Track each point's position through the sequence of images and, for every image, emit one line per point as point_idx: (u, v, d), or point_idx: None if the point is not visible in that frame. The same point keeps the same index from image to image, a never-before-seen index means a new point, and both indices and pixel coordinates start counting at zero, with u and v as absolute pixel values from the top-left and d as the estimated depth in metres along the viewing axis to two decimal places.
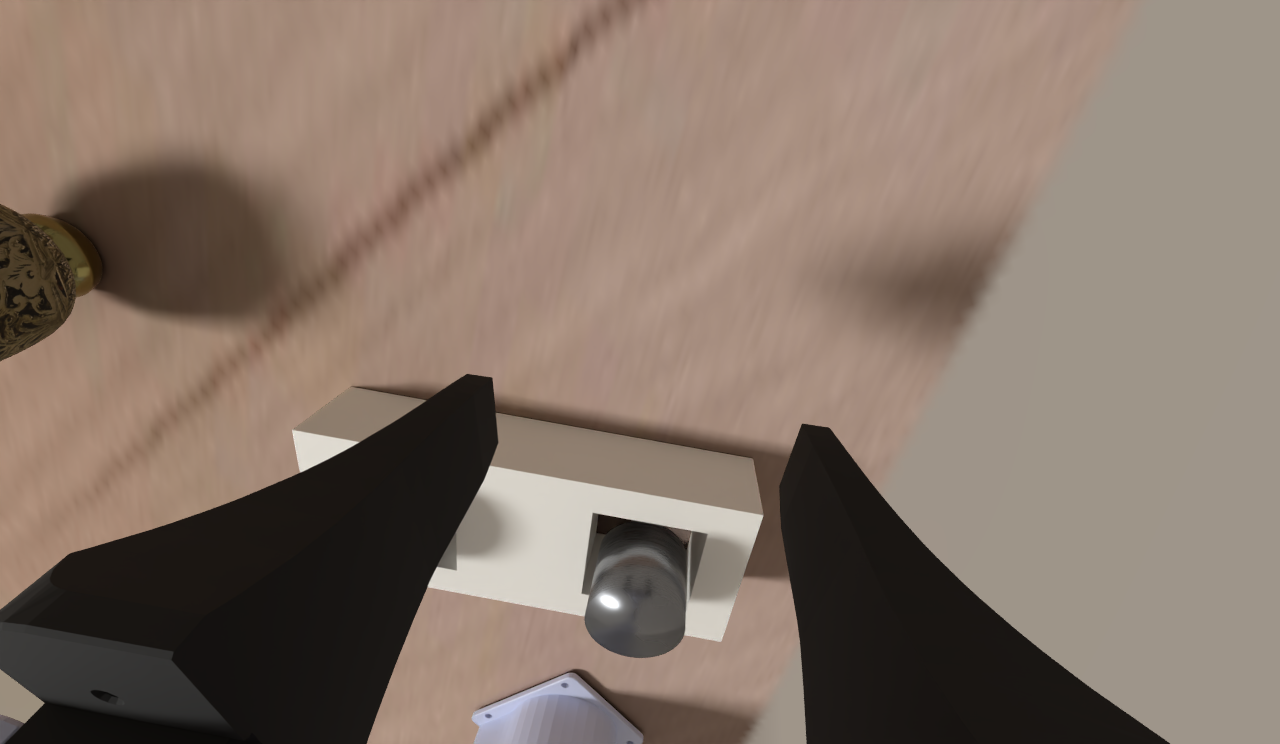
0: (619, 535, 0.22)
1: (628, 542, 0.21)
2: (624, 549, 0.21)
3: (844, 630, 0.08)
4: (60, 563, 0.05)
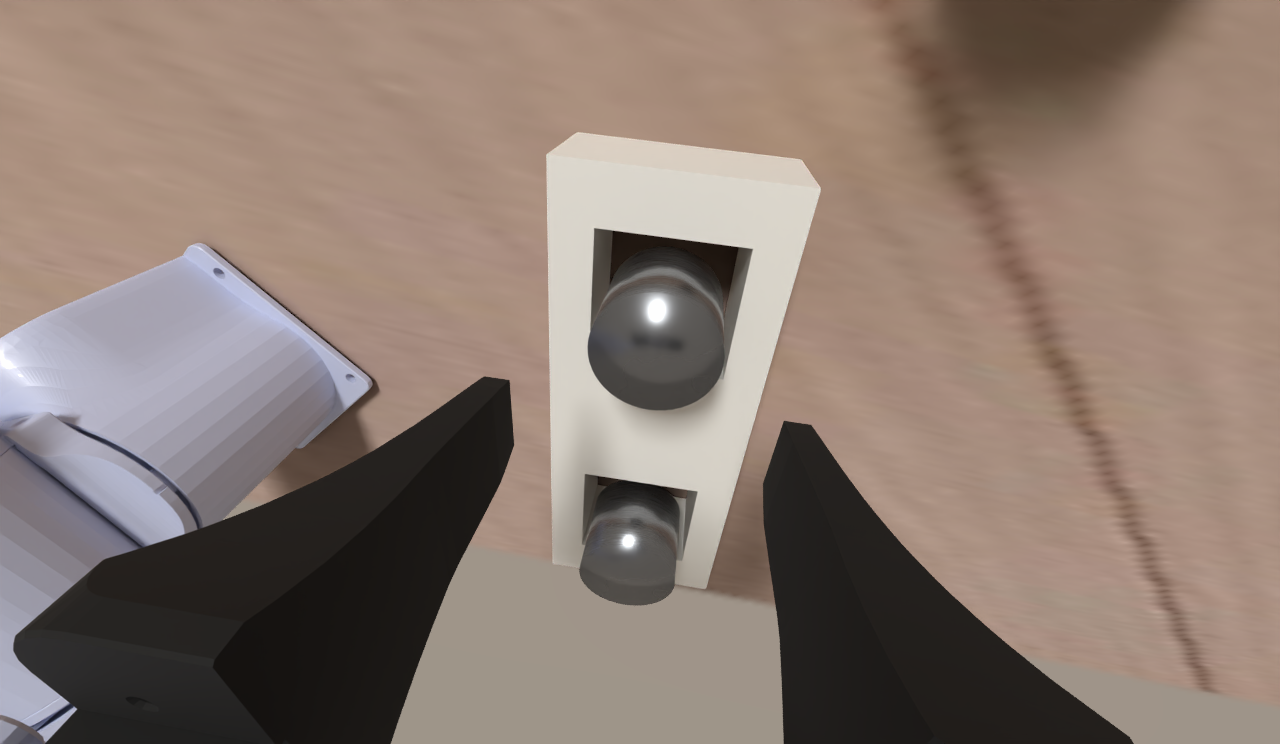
0: (673, 509, 0.22)
1: (676, 527, 0.22)
2: (675, 531, 0.22)
3: (818, 625, 0.08)
4: (94, 569, 0.05)
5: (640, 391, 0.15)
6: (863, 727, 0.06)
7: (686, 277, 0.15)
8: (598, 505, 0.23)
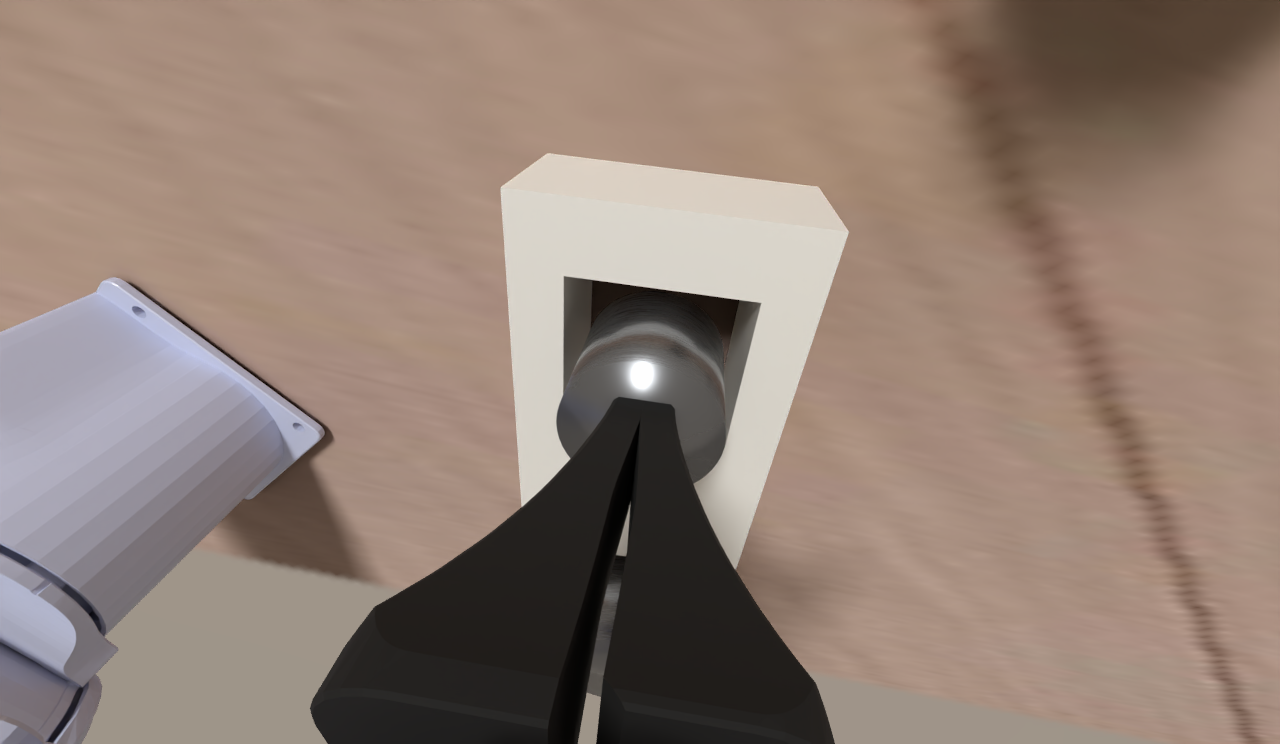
0: None
1: None
2: None
3: None
4: (378, 619, 0.05)
5: None
6: None
7: (678, 336, 0.12)
8: None
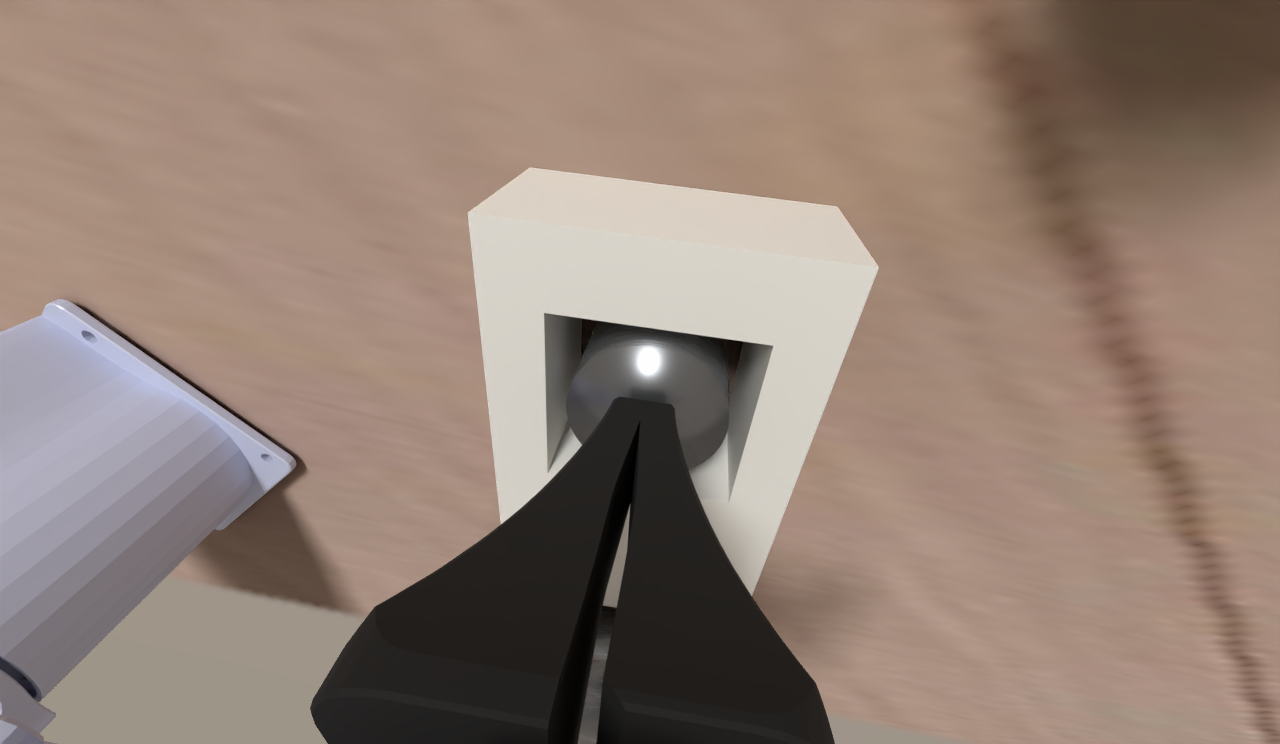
0: None
1: None
2: None
3: None
4: (379, 619, 0.05)
5: None
6: None
7: None
8: None
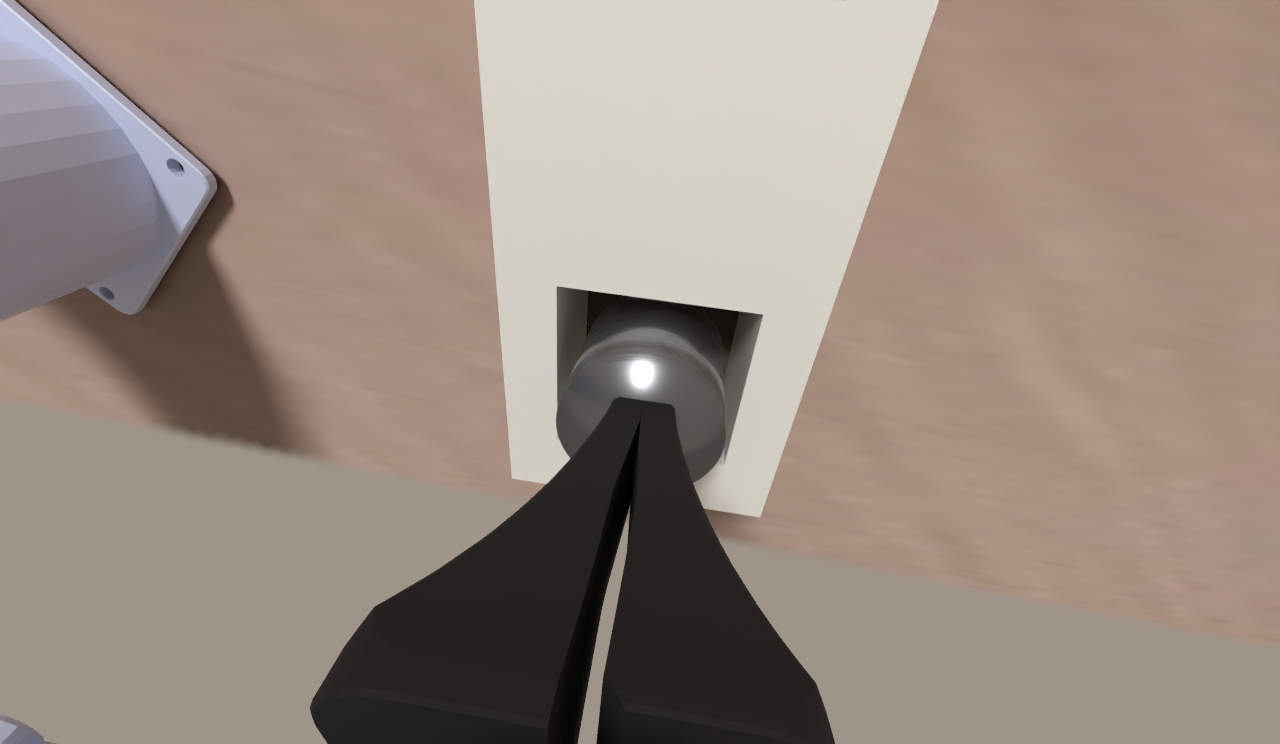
0: (716, 337, 0.13)
1: (722, 363, 0.13)
2: (721, 366, 0.13)
3: None
4: (378, 619, 0.05)
5: None
6: None
7: None
8: (590, 332, 0.14)
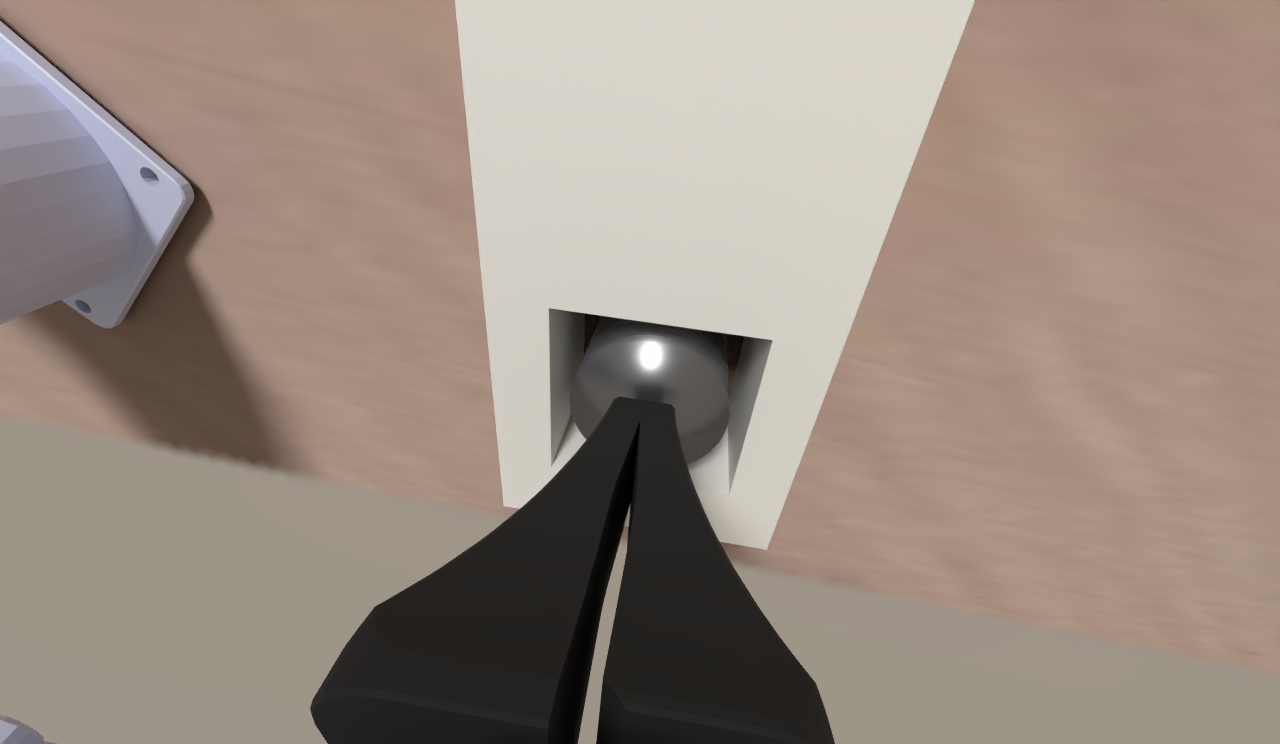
0: None
1: (726, 347, 0.14)
2: (725, 350, 0.14)
3: None
4: (378, 619, 0.05)
5: None
6: None
7: None
8: (601, 317, 0.14)
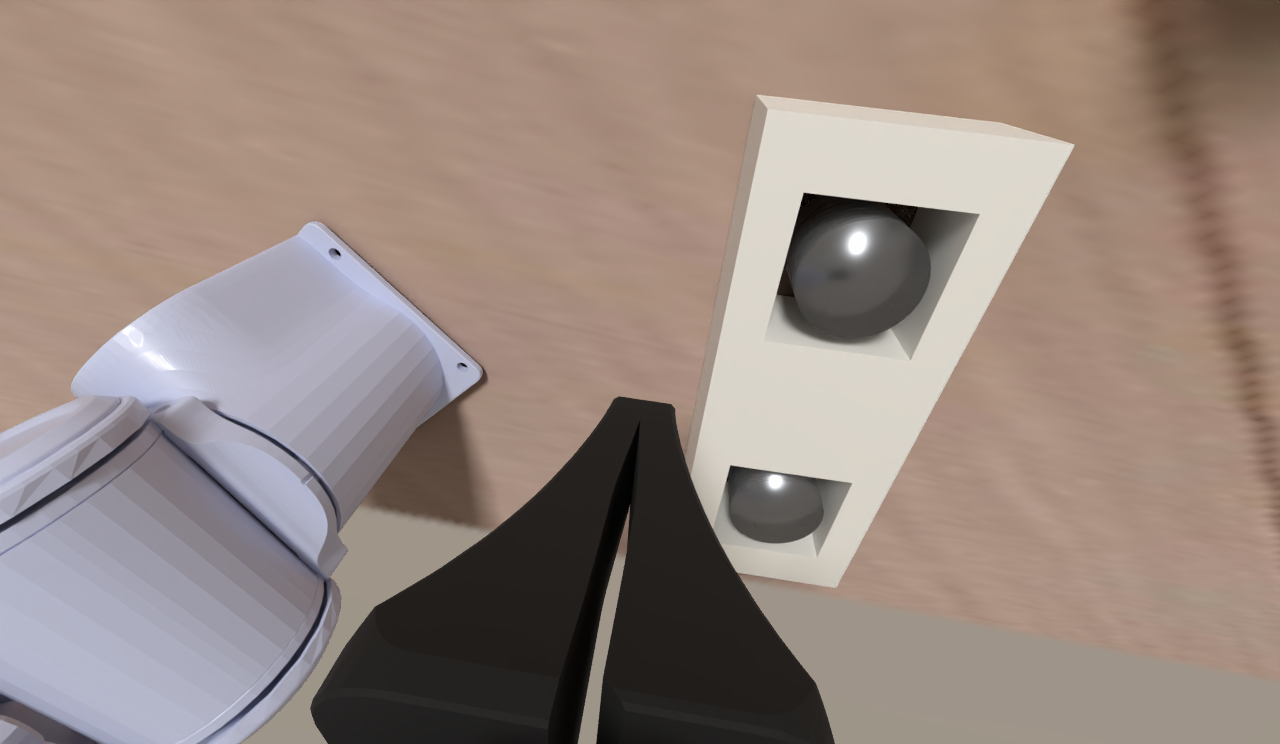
0: None
1: None
2: None
3: None
4: (378, 619, 0.05)
5: (838, 319, 0.17)
6: None
7: (888, 211, 0.16)
8: None
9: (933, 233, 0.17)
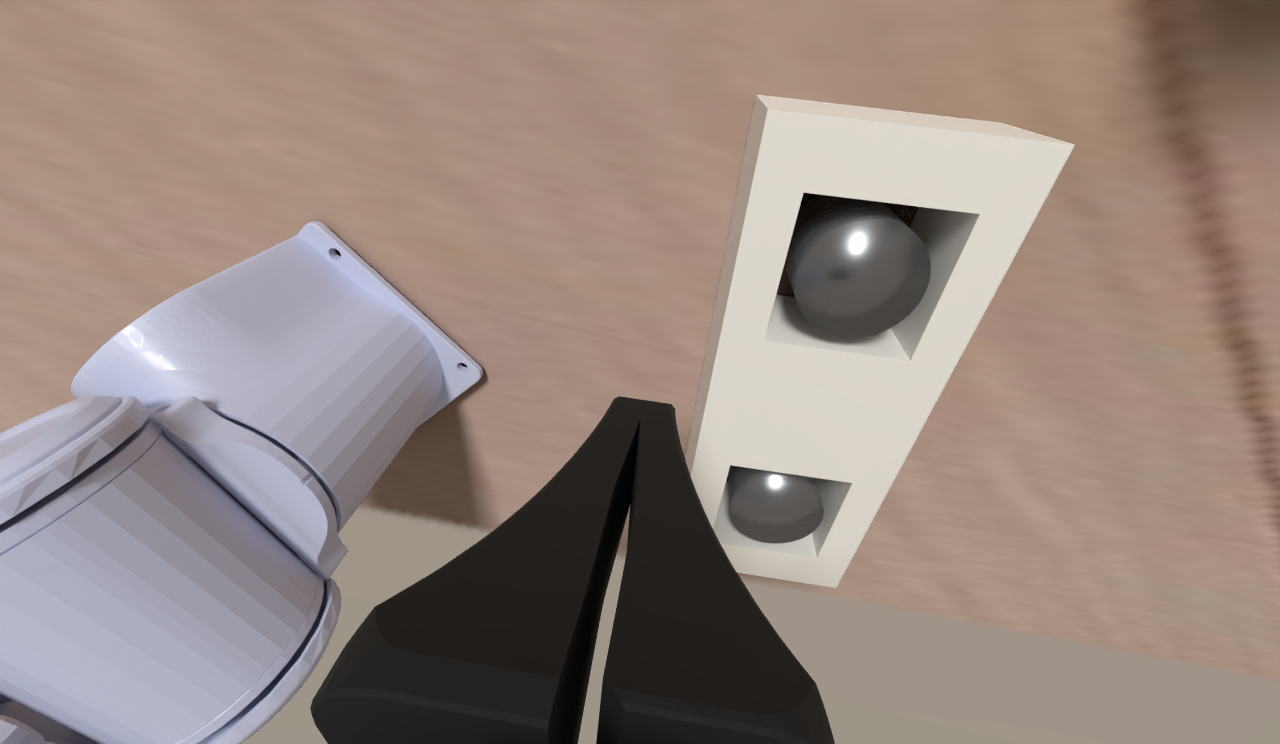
0: None
1: None
2: None
3: None
4: (378, 619, 0.05)
5: (838, 319, 0.17)
6: None
7: (888, 211, 0.16)
8: None
9: (933, 233, 0.17)
